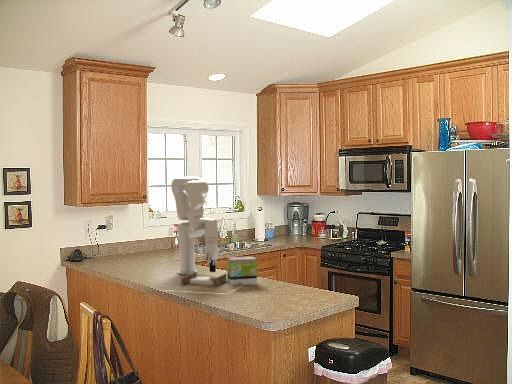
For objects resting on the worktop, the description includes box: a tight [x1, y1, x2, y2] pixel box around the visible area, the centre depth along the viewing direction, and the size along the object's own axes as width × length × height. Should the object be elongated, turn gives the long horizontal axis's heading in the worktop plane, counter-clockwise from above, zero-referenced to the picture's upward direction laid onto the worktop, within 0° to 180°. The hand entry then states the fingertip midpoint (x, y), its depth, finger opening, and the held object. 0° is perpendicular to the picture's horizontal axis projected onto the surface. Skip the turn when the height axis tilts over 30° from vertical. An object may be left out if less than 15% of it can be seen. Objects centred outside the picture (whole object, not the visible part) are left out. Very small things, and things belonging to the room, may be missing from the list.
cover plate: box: [190, 275, 217, 285], centre depth 306 cm, size 10×14×2 cm
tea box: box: [226, 256, 258, 286], centre depth 305 cm, size 15×10×15 cm, turn 105°
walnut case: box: [180, 272, 227, 288], centre depth 305 cm, size 17×20×5 cm
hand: (212, 271), depth 315 cm, fingers closed
